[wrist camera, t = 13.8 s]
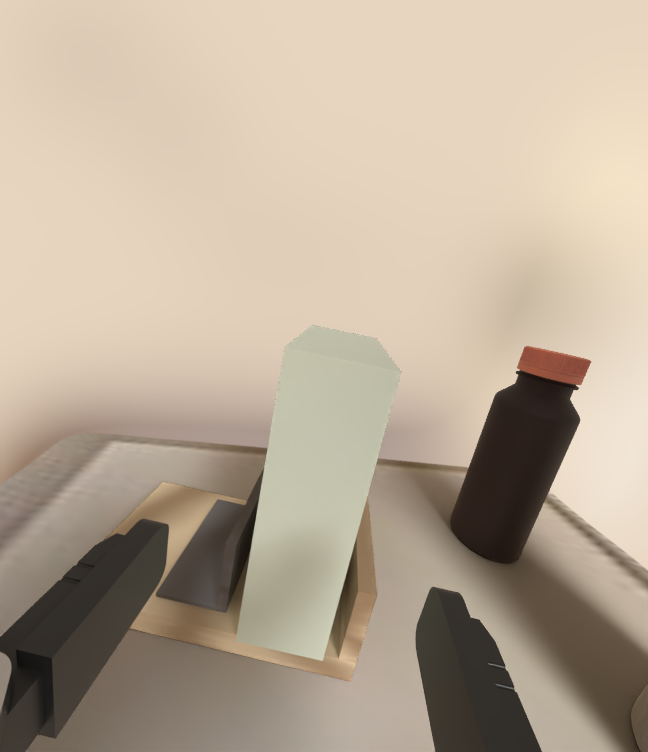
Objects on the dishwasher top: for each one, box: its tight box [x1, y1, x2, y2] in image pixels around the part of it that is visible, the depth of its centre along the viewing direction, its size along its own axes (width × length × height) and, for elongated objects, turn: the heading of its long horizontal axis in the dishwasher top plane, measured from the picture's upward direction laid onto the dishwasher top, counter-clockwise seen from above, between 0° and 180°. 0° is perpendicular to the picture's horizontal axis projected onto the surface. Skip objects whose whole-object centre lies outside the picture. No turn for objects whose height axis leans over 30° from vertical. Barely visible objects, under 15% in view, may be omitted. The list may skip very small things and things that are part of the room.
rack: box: [106, 469, 377, 681], centre depth 22 cm, size 18×11×6 cm, turn 85°
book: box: [236, 325, 401, 661], centre depth 20 cm, size 5×11×17 cm, turn 175°
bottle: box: [451, 346, 591, 562], centre depth 30 cm, size 7×7×20 cm
